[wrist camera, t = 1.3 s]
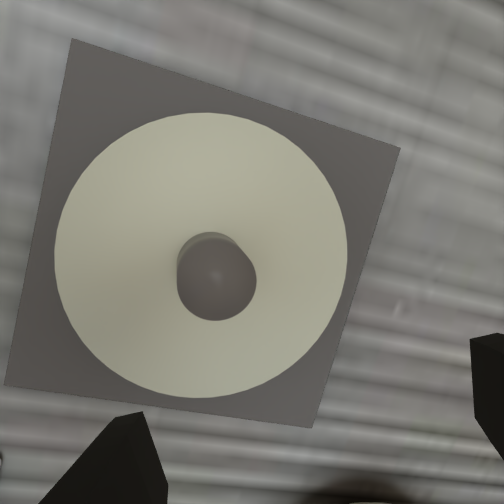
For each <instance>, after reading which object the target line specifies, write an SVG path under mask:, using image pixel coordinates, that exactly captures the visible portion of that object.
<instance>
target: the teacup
mask: <svg viewBox="0 0 504 504" xmlns="http://www.w3.org/2000/svg"><path fill="white" fill-rule="evenodd" d="M351 504H390V503H370V502H359V503H351Z"/></svg>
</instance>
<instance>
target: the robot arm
mask: <svg viewBox="0 0 504 504" xmlns="http://www.w3.org/2000/svg"><path fill="white" fill-rule="evenodd" d="M470 352H471V367H472V383H473V398H474V414H475V419H476V420H477V422H478V423H479V425H480V426H481V428H482V429H483V431H484V432H485V434H486V435H487V437H488V438H489V440H490V442H491V443H492V444H493V446H494V447H495V449H496V450H497V451H498V453H499V454H500V456H501V457H502V459H503V460H504V334H500V333H495V334H490V335H486V336H481V337H477V338H472V339H470ZM0 468H1V459H0ZM167 498H168V483H167V480H166V477H165V474H164V472H163V469H162V466H161V463H160V460H159V457H158V454H157V451H156V448H155V446H154V443H153V440H152V437H151V434H150V431H149V428H148V425H147V422H146V419H145V417H144V414H143V411H142V412H137V413H133V414H128V415H124V416H119V417H115V418H114V419H113V420H112V421H111V422H110V423H109V424H108V425H107V426H106V428H105V429H104V430H103V431H102V432H101V433H100V434H99V435H98V436H97V438H96V439H95V440H94V441H93V442H92V443H91V444H90V446H89V447H88V448H87V449H86V450H85V451H84V452H83V454H82V455H81V456H80V457H79V458H78V459H77V461H76V462H75V463H74V464H73V465H72V466H71V467H70V469H69V470H68V471H67V472H66V473H65V474H64V475H63V476H62V478H61V479H60V480H59V481H58V482H57V483H56V484H55V486H54V487H53V488H52V489H51V490H50V491H49V492H48V493H47V495H46V496H45V497H44V498H43V499H42V500H41V501H40V502H39V503H38V504H167Z"/></svg>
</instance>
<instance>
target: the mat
mask: <svg viewBox="0 0 504 504" xmlns="http://www.w3.org/2000/svg"><path fill="white" fill-rule="evenodd" d="M187 113H218V114H227V115H232V116H236V117H241V118H245V119H249V120H251V121H254V122H256V123H259V124H261V125H264V126H266V127H268V128H270V129H272V130H274V131H276V132H277V133H279V134H281V135H283V136H284V137H286V138H287V139H288V140H290V141H291V142H292V143H294V144H295V145H296V146H298V147H299V148H300V149H301V150H302V151H303V152H304V153H305V154H306V155H307V156H308V157H309V158H310V159H311V160H312V161H313V162H314V163H315V165H316V166H317V167H318V169H319V170H320V171H321V172H322V174H323V175H324V177H325V178H326V180H327V182H328V183H329V185H330V187H331V189H332V190H333V192H334V195H335V197H336V199H337V202H338V204H339V207H340V210H341V213H342V217H343V221H344V224H345V231H346V238H347V267H346V275H345V281H344V285H343V289H342V293H341V296H340V299H339V301H338V304H337V307H336V309H335V312H334V313H333V315H332V317H331V319H330V321H329V323H328V325H327V327H326V328H325V329H324V331H323V332H322V334H321V335H320V337H319V338H318V340H317V341H316V342H315V343H314V344H313V345H312V347H311V348H310V349H309V350H308V351H307V352H306V353H305V354H304V355H303V356H302V357H301V358H300V359H299V360H298V361H297V362H295V363H294V364H293V365H292V366H290V367H289V368H288V369H286V370H285V371H283V372H282V373H281V374H279V375H278V376H276V377H274V378H272V379H270V380H268V381H267V382H265V383H263V384H260V385H258V386H256V387H253V388H251V389H248V390H245V391H241V392H238V393H234V394H231V395H225V396H218V397H209V398H188V397H177V396H172V395H167V394H162V393H158V392H155V391H152V390H149V389H146V388H143V387H141V386H139V385H137V384H135V383H133V382H131V381H128V380H126V379H125V378H123V377H121V376H120V375H118V374H117V373H115V372H114V371H112V370H111V369H109V368H108V367H107V366H106V365H105V364H104V363H102V362H101V361H100V360H99V359H98V358H97V357H96V356H95V355H94V354H93V353H92V352H91V351H90V350H89V349H88V347H87V346H86V345H85V344H84V343H83V342H82V340H81V339H80V337H79V336H78V334H77V333H76V331H75V330H74V328H73V327H72V325H71V323H70V320H69V318H68V316H67V314H66V312H65V310H64V308H63V304H62V301H61V298H60V295H59V292H58V287H57V281H56V275H55V257H54V249H55V241H56V234H57V228H58V225H59V221H60V217H61V214H62V210H63V208H64V206H65V204H66V201H67V199H68V197H69V194H70V192H71V190H72V189H73V187H74V186H75V184H76V182H77V181H78V179H79V178H80V176H81V174H82V173H83V172H84V171H85V170H86V168H87V167H88V166H89V165H90V164H91V162H92V161H93V160H94V159H95V158H96V157H97V156H98V155H99V154H100V153H101V152H103V151H104V150H105V149H106V148H107V147H108V146H109V145H110V144H112V143H113V142H115V141H116V140H118V139H119V138H121V137H122V136H124V135H125V134H127V133H128V132H130V131H132V130H134V129H136V128H139V127H141V126H143V125H145V124H147V123H150V122H153V121H156V120H159V119H162V118H165V117H169V116H175V115H181V114H187ZM400 149H401V148H399V147H396V146H393V145H390V144H387V143H384V142H381V141H378V140H375V139H372V138H369V137H366V136H363V135H360V134H357V133H354V132H351V131H348V130H345V129H342V128H339V127H336V126H333V125H330V124H328V123H325V122H322V121H319V120H316V119H313V118H310V117H307V116H304V115H301V114H298V113H295V112H292V111H289V110H286V109H283V108H280V107H277V106H274V105H271V104H268V103H265V102H262V101H259V100H256V99H253V98H250V97H247V96H244V95H241V94H238V93H235V92H232V91H229V90H226V89H223V88H220V87H217V86H214V85H211V84H208V83H205V82H202V81H199V80H196V79H193V78H190V77H187V76H184V75H181V74H178V73H175V72H172V71H169V70H166V69H163V68H160V67H157V66H154V65H151V64H148V63H145V62H142V61H139V60H136V59H133V58H130V57H127V56H124V55H121V54H118V53H115V52H112V51H109V50H106V49H103V48H100V47H97V46H94V45H91V44H88V43H85V42H82V41H79V40H76V39H73V38H72V40H71V45H70V50H69V55H68V60H67V65H66V70H65V76H64V81H63V86H62V91H61V96H60V101H59V106H58V111H57V116H56V121H55V126H54V132H53V137H52V142H51V147H50V152H49V157H48V162H47V167H46V172H45V177H44V182H43V188H42V193H41V198H40V203H39V208H38V213H37V218H36V223H35V228H34V233H33V238H32V244H31V249H30V254H29V259H28V264H27V269H26V274H25V279H24V284H23V289H22V295H21V300H20V305H19V310H18V315H17V320H16V325H15V330H14V335H13V340H12V345H11V351H10V356H9V361H8V366H7V371H6V376H5V381H4V385H5V386H13V387H20V388H27V389H34V390H41V391H48V392H55V393H63V394H70V395H77V396H84V397H91V398H98V399H105V400H112V401H120V402H127V403H134V404H141V405H148V406H155V407H162V408H170V409H177V410H184V411H191V412H198V413H205V414H212V415H220V416H227V417H234V418H241V419H248V420H255V421H262V422H269V423H277V424H284V425H291V426H298V427H305V428H312V426H313V423H314V420H315V417H316V414H317V410H318V407H319V404H320V401H321V398H322V395H323V392H324V388H325V385H326V382H327V379H328V376H329V373H330V369H331V366H332V363H333V360H334V357H335V354H336V351H337V347H338V344H339V341H340V338H341V335H342V332H343V328H344V325H345V322H346V319H347V316H348V313H349V310H350V306H351V303H352V300H353V297H354V294H355V291H356V287H357V284H358V281H359V278H360V275H361V272H362V269H363V265H364V262H365V259H366V256H367V253H368V250H369V246H370V243H371V240H372V237H373V234H374V231H375V228H376V224H377V221H378V218H379V215H380V212H381V209H382V205H383V202H384V199H385V196H386V193H387V190H388V187H389V183H390V180H391V177H392V174H393V171H394V168H395V164H396V161H397V158H398V155H399V152H400Z"/></svg>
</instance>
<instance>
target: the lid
mask: <svg viewBox="0 0 504 504" xmlns="http://www.w3.org/2000/svg"><path fill="white" fill-rule="evenodd" d="M54 257H55V275H56V281H57V287H58V292H59V295H60V298H61V301H62V304H63V308H64V310H65V312H66V314H67V316H68V318H69V320H70V323H71V325H72V327H73V328H74V330H75V331H76V333H77V334H78V336H79V337H80V339H81V340H82V342H83V343H84V344H85V345H86V346H87V347H88V349H89V350H90V351H91V352H92V353H93V354H94V355H95V356H96V357H97V358H98V359H99V360H100V361H101V362H102V363H104V364H105V365H106V366H107V367H108V368H109V369H111V370H112V371H114V372H115V373H117V374H118V375H120V376H121V377H123V378H125V379H126V380H128V381H131V382H133V383H135V384H137V385H139V386H141V387H143V388H146V389H149V390H152V391H155V392H158V393H162V394H167V395H172V396H177V397H188V398H209V397H218V396H225V395H231V394H234V393H238V392H241V391H245V390H248V389H251V388H253V387H256V386H258V385H260V384H263V383H265V382H267V381H268V380H270V379H272V378H274V377H276V376H278V375H279V374H281V373H282V372H283V371H285V370H286V369H288V368H289V367H290V366H292V365H293V364H294V363H295V362H297V361H298V360H299V359H300V358H301V357H302V356H303V355H304V354H305V353H306V352H307V351H308V350H309V349H310V348H311V347H312V345H313V344H314V343H315V342H316V341H317V340H318V338H319V337H320V335H321V334H322V332H323V331H324V329H325V328H326V327H327V325H328V323H329V321H330V319H331V317H332V315H333V313H334V312H335V309H336V307H337V304H338V301H339V299H340V296H341V293H342V289H343V285H344V281H345V275H346V267H347V238H346V231H345V224H344V221H343V217H342V213H341V210H340V207H339V204H338V202H337V199H336V197H335V195H334V192H333V190H332V189H331V187H330V185H329V183H328V182H327V180H326V178H325V177H324V175H323V174H322V172H321V171H320V170H319V169H318V167H317V166H316V165H315V163H314V162H313V161H312V160H311V159H310V158H309V157H308V156H307V155H306V154H305V153H304V152H303V151H302V150H301V149H300V148H299V147H298V146H296V145H295V144H294V143H292V142H291V141H290V140H288V139H287V138H286V137H284V136H283V135H281V134H279V133H277V132H276V131H274V130H272V129H270V128H268V127H266V126H264V125H261V124H259V123H256V122H254V121H251V120H249V119H245V118H241V117H236V116H232V115H227V114H218V113H187V114H181V115H175V116H169V117H165V118H162V119H159V120H156V121H153V122H150V123H147V124H145V125H143V126H141V127H139V128H136V129H134V130H132V131H130V132H128V133H127V134H125V135H124V136H122V137H121V138H119V139H118V140H116V141H115V142H113V143H112V144H110V145H109V146H108V147H107V148H106V149H105V150H104V151H103V152H101V153H100V154H99V155H98V156H97V157H96V158H95V159H94V160H93V161H92V162H91V164H90V165H89V166H88V167H87V168H86V170H85V171H84V172H83V173H82V174H81V176H80V178H79V179H78V181H77V182H76V184H75V186H74V187H73V189H72V190H71V192H70V194H69V197H68V199H67V201H66V204H65V206H64V208H63V210H62V214H61V217H60V221H59V225H58V228H57V234H56V241H55V249H54Z"/></svg>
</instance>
